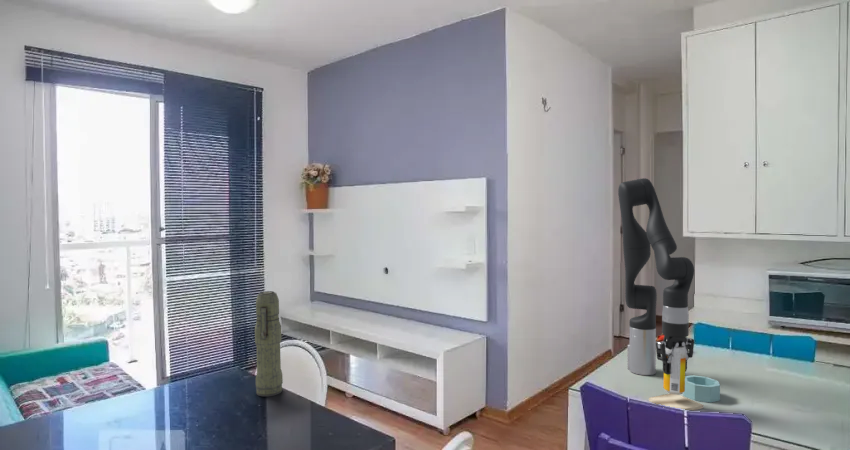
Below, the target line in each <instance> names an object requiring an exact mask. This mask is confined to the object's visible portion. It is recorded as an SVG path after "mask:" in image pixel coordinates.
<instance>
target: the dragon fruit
mask: <svg viewBox="0 0 850 450" xmlns="http://www.w3.org/2000/svg"><path fill="white" fill-rule="evenodd" d="M663 340H664V334H663V333H662V332H661V334H659V335H656V342H657V341H658V342H662V341H663Z"/></svg>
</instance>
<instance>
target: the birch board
mask: <svg viewBox="0 0 850 450" xmlns="http://www.w3.org/2000/svg"><path fill="white" fill-rule="evenodd" d="M648 402H651V403H653V404H655V403H656V404H655V405H657V404H661V405H665V406H670V407H675V408H681V409H685V410H692V411H697V410H701V409H704V408H705V407H704V404H703V403H700V402H699V401H695V400H693V399H690V398H688V397H685V396H684V395H682V394H680V395H675V394H670V393H666V394H661V395H656V396H651V397H648Z"/></svg>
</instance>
